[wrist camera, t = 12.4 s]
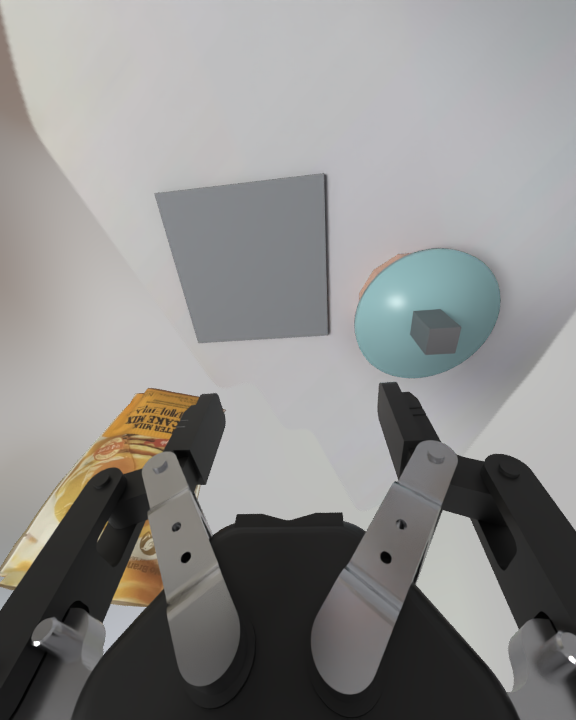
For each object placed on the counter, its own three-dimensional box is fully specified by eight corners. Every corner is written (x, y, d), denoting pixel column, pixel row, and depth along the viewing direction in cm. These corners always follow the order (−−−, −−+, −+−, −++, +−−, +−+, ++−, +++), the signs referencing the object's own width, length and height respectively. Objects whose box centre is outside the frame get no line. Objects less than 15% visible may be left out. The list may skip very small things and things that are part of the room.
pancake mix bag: (231, 427, 53) (168, 620, 29) (131, 409, 52) (-19, 592, 28) (234, 401, 49) (166, 595, 25) (127, 381, 48) (-48, 562, 24)
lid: (356, 255, 30) (366, 268, 25) (514, 240, 28) (560, 251, 23) (353, 376, 38) (360, 405, 33) (475, 370, 36) (503, 399, 31)
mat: (157, 193, 33) (154, 193, 33) (323, 173, 31) (323, 173, 30) (200, 340, 43) (198, 343, 43) (327, 332, 41) (327, 335, 41)
